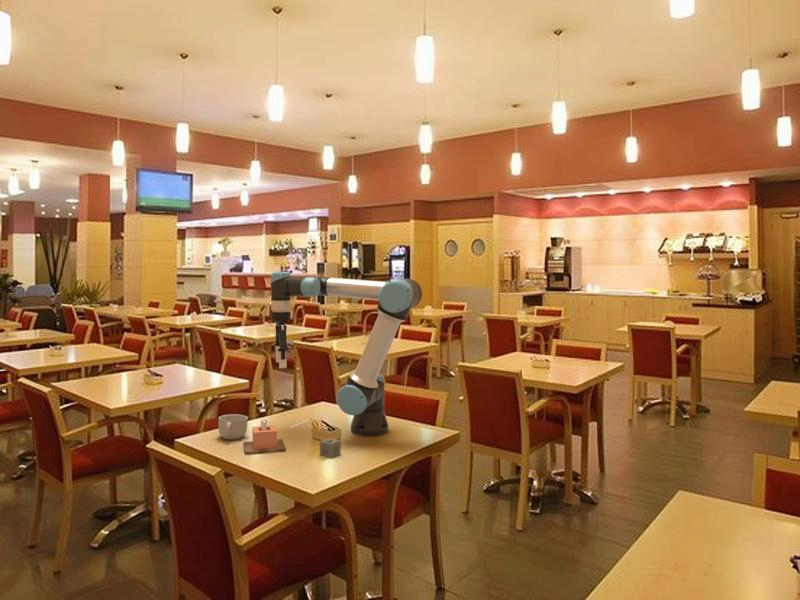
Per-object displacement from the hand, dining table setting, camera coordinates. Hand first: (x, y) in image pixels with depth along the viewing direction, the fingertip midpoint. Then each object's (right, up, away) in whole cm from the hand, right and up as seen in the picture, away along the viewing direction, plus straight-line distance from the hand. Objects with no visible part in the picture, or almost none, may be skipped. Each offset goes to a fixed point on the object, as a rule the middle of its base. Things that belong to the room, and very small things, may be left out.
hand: (281, 365), depth 229 cm
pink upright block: (-2, -27, -19) cm, 33 cm away
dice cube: (+23, -29, -26) cm, 45 cm away
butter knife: (+7, -26, +20) cm, 34 cm away
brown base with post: (-2, -28, -19) cm, 34 cm away
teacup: (-17, -27, -8) cm, 33 cm away
